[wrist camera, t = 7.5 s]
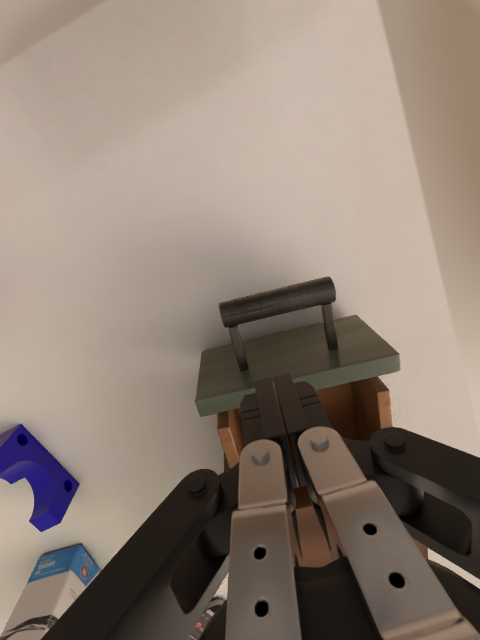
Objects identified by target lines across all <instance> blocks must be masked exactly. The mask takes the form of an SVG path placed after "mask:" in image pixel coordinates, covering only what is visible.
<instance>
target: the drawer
mask: <svg viewBox="0 0 480 640" xmlns="http://www.w3.org/2000/svg"><path fill="white" fill-rule="evenodd" d="M335 300H336V291H335V286H334V283H333V281H332V279H331V278H330V277H323V278H319V279H315V280H311V281H307V282H303V283H299V284H295V285H291V286H286V287H282V288H278V289H274V290H270V291H266V292H262V293H258V294H254V295H249V296H245V297H241V298H237V299H233V300H229V301H225V302H221V303H219V309H220V314H221V318H222V321H223V324H224V326H225V327H226V328H227V327H228V329H229V332H230V336H231V340H232V343H233V344H232V345H228V346H224V347H219V348H215V349H211V350H207V351H203V352H202V354H201V362H200V369H199V377H198V385H197V392H196V400H195V402H196V405H197V408H198V411H199V414H200V416H201V417H202V416H207V415H211V414H215V413H218V422H217V430H218V433H219V436H220V440H221V443H222V446H223V449H224V452H225V455H226V458H227V461H228V464H229V467H230V469H231V468H232V467H234V466H235V465H236V464H237V463H238V462H239V458H240V454H241V452H242V450H243V449H244V446H243V434H242V420H241V409H240V403H241V401H242V399H243V397H244V395H247V394H252V393H256V390H255V384H254V380H258V379H262V378H266V377H271V379H272V383H273V387H274V390H275V394H276V389H275V385H274V381H273V377H272V376H274V375H279V374H283V373H287V372H289V373H290V375H291V378H292V380H293V383H298V382H302V381H306V382H307V383H309V384H310V385H312V386H313V387H314V389H315V391H316V394H317V396H318V398H319V400H320V403H321V404H322V406H323V409H324V411H325V413H326V415H327V417H328V419H329V421H330V424H331V426H332V428H333V429H334V430H335V431H337V432H338V433H339V435H340V436H342V437H344V438H347V439H351V440H360V441H370V438H371V436H372V434H373V433H374V432H376V431H377V430H379V429H382V428H387V427H393V426H392V415H391V403H390V392H389V389H388V388H387V387H386V386H385V385H384V383H383V382H382V381H381V380H380V379H379V377H378V376H380V375H384V374H389V373H393V372H397V371H400V370H401V368H400V355H399V353H398V352H397V351H396V350H395V349H394V348H392V347H391V346H390V345H389V344H388V343H387V342H386V341H385V340H384V339H382V338H381V337H380V336H379V335H378V334H377V333H376V332H375V331H374V330H372V329H371V328H370V327H369V326H368V325H367V324H366V323H365V322H364V321H362V320H361V319H360V318H359V317H358V316H357V315H354V316H350V317H345V318H341V319H337V320H334V315H333V308H332V303H331V302H334V301H335ZM318 305H321V311H322V317H323V323H320V324H316V325H312V326H308V327H303V328H299V329H295V330H291V331H287V332H282V333H278V334H274V335H270V336H266V337H261V338H257V339H253V340H249V341H245V342H242V339H241V335H240V331H239V328H238V325H239V324H243V323H247V322H251V321H256V320H260V319H264V318H268V317H272V316H276V315H281V314H285V313H289V312H293V311H297V310H301V309H306V308H310V307H314V306H318ZM276 398H277V394H276ZM277 402H278V398H277ZM278 406H279V402H278ZM279 409H280V406H279ZM280 413H281V410H280ZM281 417H282V414H281ZM282 421H283V418H282ZM283 425H284V422H283ZM284 429H285V426H284ZM285 432H286V429H285ZM286 436H287V433H286ZM287 440H288V437H287ZM288 445H289V441H288ZM289 449H290V453H291V457H292V461H293V465H294V469H295V474H296V478H297V482H298V486H299V487H298V488H293V490H294V494H295V498H296V499H300V498H305V497H310V495H309V492H308V488H307V485H306V486H302V487H301V486H300V482H299V478H298V475H297V471H296V467H295V463H294V460H293V456H292V452H291V448H290V445H289Z"/></svg>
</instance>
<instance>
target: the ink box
mask: <svg viewBox="0 0 480 640" xmlns="http://www.w3.org/2000/svg"><path fill="white" fill-rule="evenodd" d="M100 572H101V571H100V569H99V568H98V567H97V565H96V564H95V563H94V561H93V560H92V558H91V557H90V556H89V554H88V553H87V551H86V550H85V549H84V547H83V546H82V545H76V546H72V547H69V548H65V549H62V550H58V551H55V552H51V553H48V554H45V555H42V556H40V558H39V560H38V562H37V564H36V566H35V568H34V570H33V572H32V574H31V576H30V578H29V580H28V582H27V584H26V586H25V588H24V590H23V592H22V594H21V596H20V598H19V600H18V603H17V604H16V606H15V608H14V610H13V612H12V614H11V616H10V618H9V620H8V622H7V624H6V626H5V628H4V630H3V632H2V635H1V637H0V640H40V639H41V638H42V637H43V636H44V635H45V634H46V633H47V631H48V630H49V629H50V628H51V627H52V626H53V625H54V624H55V622H56V621H57V620H58V619H59V618H60V617H61V616H62V615H63V613H64V612H65V611H66V610H67V609H68V608H69V607H70V606H71V604H72V603H73V602H74V601H75V600H76V599H77V598H78V597H79V595H80V594H81V593H82V592H83V591H84V590H85V589H86V588H87V586H88V585H89V584H90V583H91V582H92V581H93V580H94V579H95V577H96V576H97V575H98V574H99V573H100Z"/></svg>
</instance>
